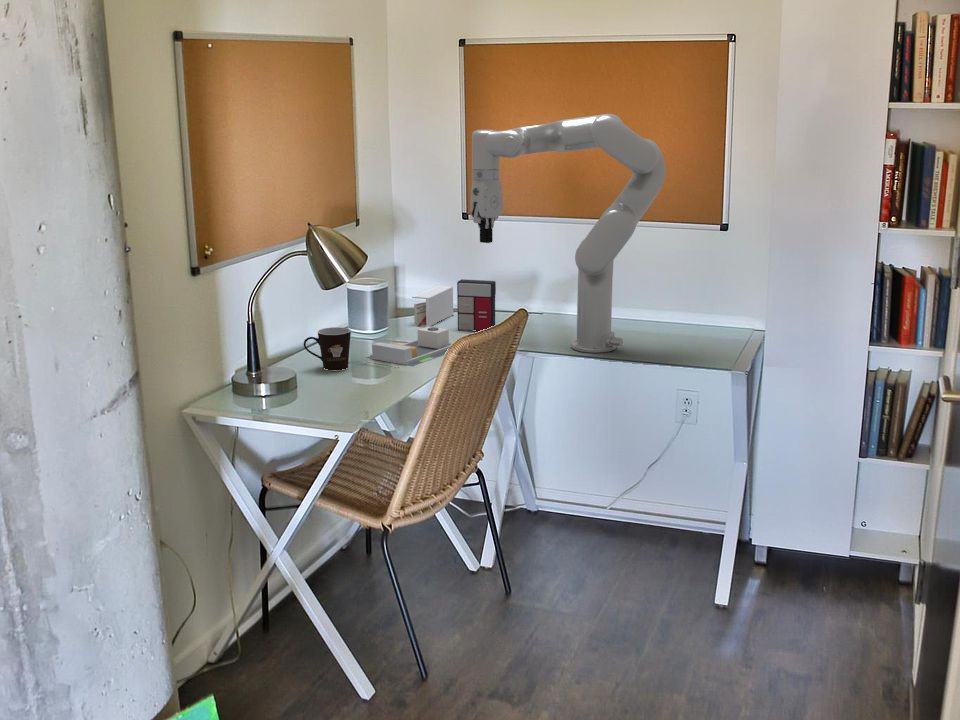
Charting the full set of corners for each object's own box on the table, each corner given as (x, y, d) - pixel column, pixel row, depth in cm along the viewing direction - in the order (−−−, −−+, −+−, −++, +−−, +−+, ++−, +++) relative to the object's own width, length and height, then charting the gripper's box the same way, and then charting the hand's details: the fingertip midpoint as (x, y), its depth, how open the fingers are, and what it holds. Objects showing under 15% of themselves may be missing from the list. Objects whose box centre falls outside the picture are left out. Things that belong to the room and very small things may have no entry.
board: (421, 343, 307) (421, 325, 306) (467, 350, 299) (467, 332, 297) (365, 362, 287) (364, 343, 286) (412, 370, 279) (412, 351, 277)
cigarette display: (437, 314, 345) (436, 285, 343) (453, 315, 343) (453, 286, 341) (411, 327, 327) (410, 297, 325) (427, 329, 325) (427, 298, 323)
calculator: (456, 331, 322) (456, 281, 318) (461, 327, 326) (460, 279, 322) (491, 333, 319) (491, 283, 315) (495, 330, 323) (495, 280, 319)
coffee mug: (356, 364, 285) (355, 327, 282) (346, 373, 277) (344, 335, 274) (315, 362, 287) (313, 326, 285) (303, 371, 279) (301, 333, 277)
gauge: (428, 342, 302) (428, 325, 301) (448, 345, 299) (448, 328, 297) (417, 345, 298) (417, 328, 297) (438, 348, 295) (437, 331, 293)
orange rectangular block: (393, 354, 291) (393, 343, 290) (416, 358, 286) (416, 347, 285) (388, 355, 289) (388, 344, 288) (412, 359, 285) (412, 348, 284)
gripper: (481, 178, 286) (482, 247, 291) (511, 174, 298) (511, 240, 303) (458, 177, 290) (459, 244, 295) (489, 173, 302) (489, 238, 307)
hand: (486, 242), depth 299 cm, fingers closed
